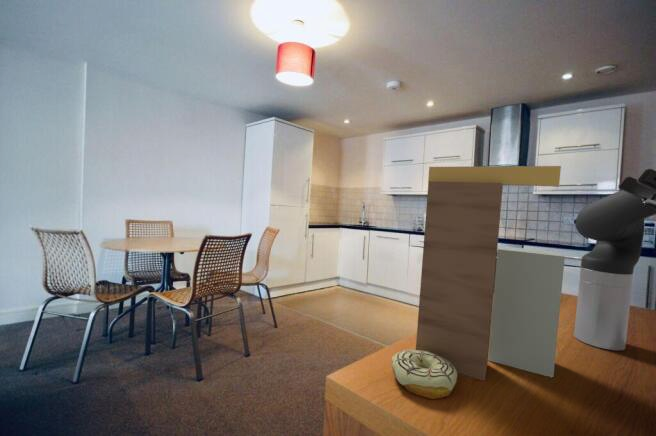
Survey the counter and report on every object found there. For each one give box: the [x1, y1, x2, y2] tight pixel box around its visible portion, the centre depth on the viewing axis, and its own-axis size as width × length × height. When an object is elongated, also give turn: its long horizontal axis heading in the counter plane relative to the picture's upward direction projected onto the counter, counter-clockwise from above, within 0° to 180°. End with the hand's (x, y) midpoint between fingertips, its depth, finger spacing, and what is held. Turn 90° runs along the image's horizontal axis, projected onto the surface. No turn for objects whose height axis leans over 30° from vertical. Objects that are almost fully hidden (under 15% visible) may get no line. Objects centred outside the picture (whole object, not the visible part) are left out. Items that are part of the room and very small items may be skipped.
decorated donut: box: [391, 349, 458, 400], centre depth 53 cm, size 10×11×4 cm
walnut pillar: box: [415, 181, 504, 382], centre depth 59 cm, size 7×12×34 cm, turn 60°
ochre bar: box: [427, 165, 562, 187], centre depth 57 cm, size 3×20×3 cm, turn 60°
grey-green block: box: [488, 245, 566, 378], centre depth 62 cm, size 8×10×22 cm
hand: (631, 178), depth 49 cm, fingers open, 8 cm apart
